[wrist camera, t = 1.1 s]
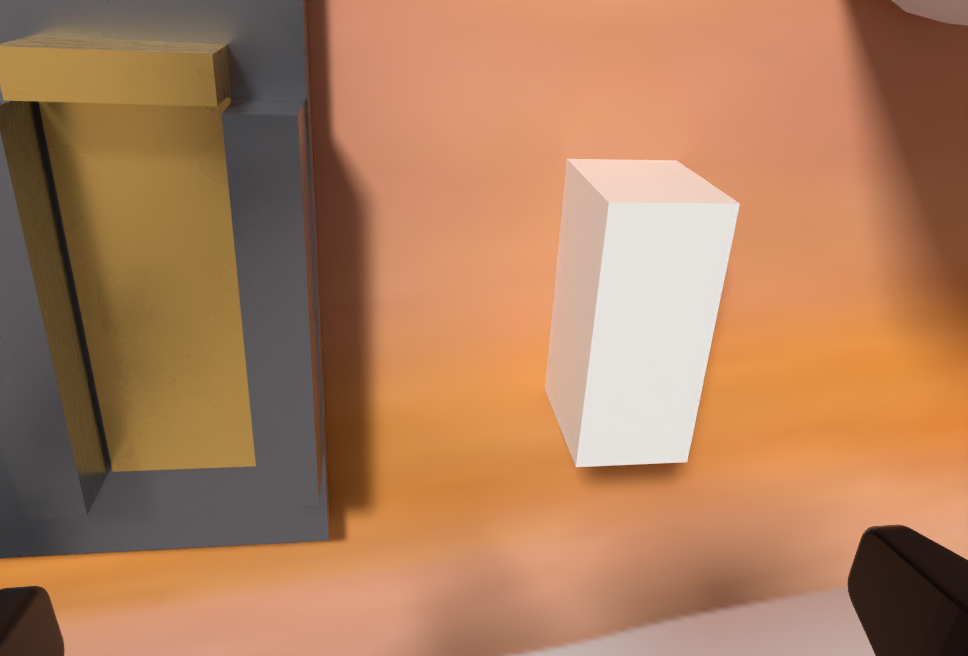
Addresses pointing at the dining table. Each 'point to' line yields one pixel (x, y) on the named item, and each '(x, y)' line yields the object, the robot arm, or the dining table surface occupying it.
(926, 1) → the can
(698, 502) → the dining table surface
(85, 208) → the rack
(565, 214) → the white rectangular prism
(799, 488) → the dining table surface
